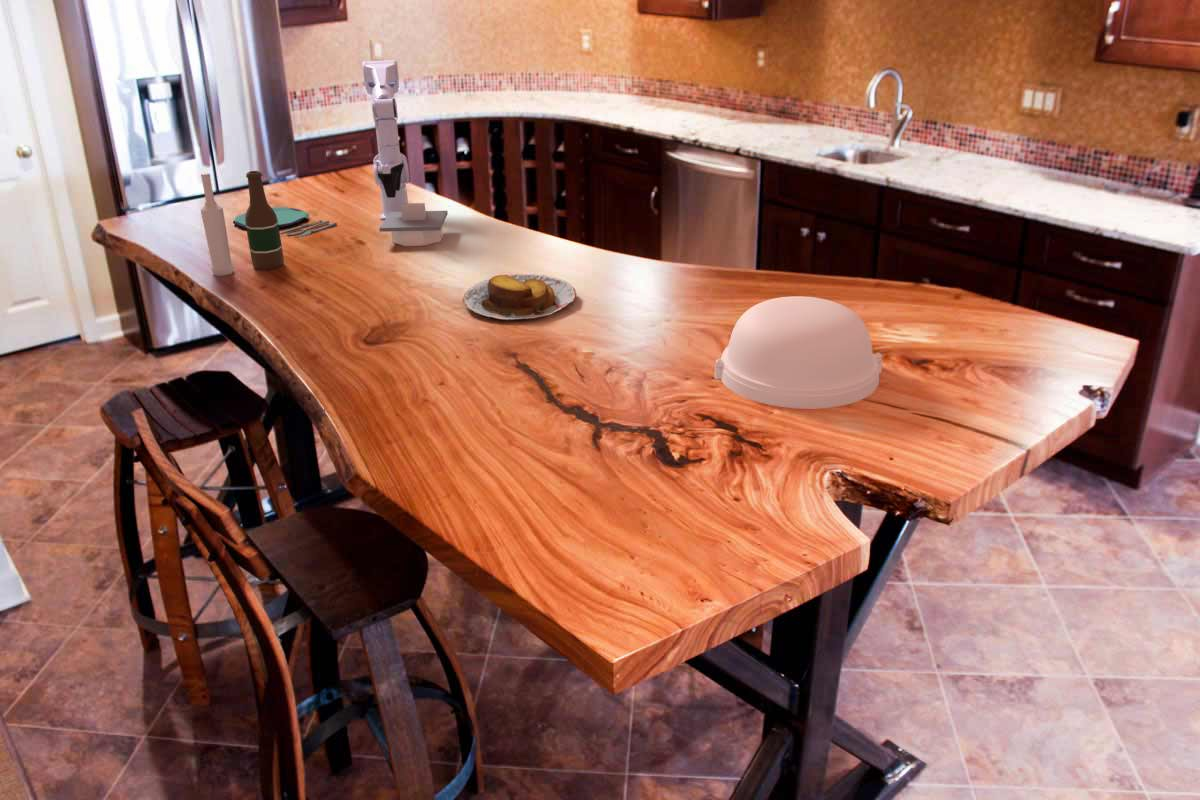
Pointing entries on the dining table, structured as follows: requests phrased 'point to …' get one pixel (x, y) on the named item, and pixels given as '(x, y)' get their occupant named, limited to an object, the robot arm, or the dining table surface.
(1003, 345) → the dining table surface
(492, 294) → the food on plate
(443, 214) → the lid
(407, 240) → the bowl
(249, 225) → the beer bottle
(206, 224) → the bottle
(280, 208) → the cutlery set
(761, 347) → the dome cover
